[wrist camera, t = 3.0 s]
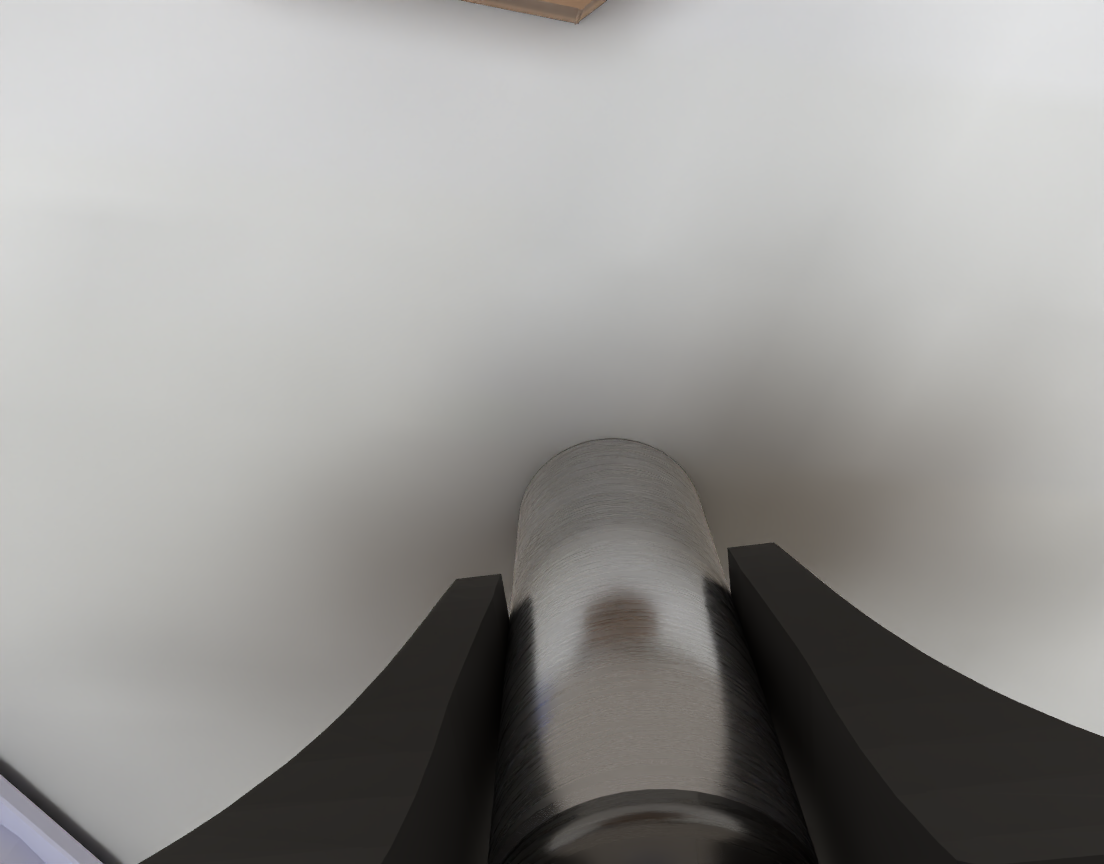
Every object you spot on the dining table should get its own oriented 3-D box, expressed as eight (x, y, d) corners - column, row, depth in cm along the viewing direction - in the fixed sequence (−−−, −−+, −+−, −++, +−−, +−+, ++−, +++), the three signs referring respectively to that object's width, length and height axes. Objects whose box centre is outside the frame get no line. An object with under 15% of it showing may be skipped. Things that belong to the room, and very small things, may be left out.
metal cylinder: (585, 631, 16) (609, 1142, 8) (481, 502, 15) (403, 942, 7) (736, 544, 15) (913, 1012, 8) (637, 404, 14) (727, 776, 7)
